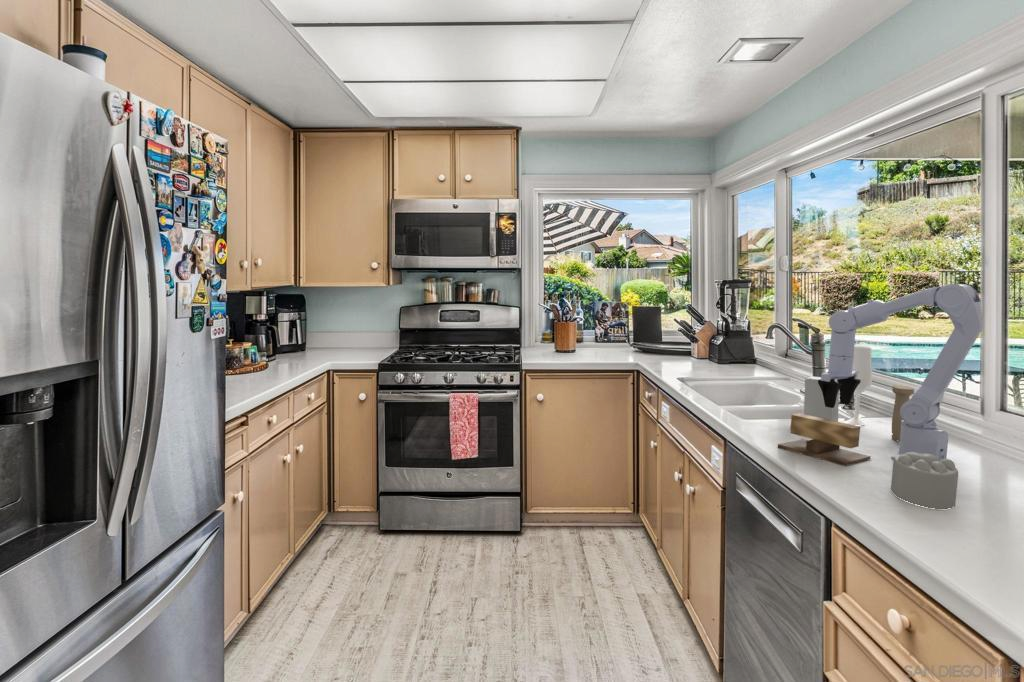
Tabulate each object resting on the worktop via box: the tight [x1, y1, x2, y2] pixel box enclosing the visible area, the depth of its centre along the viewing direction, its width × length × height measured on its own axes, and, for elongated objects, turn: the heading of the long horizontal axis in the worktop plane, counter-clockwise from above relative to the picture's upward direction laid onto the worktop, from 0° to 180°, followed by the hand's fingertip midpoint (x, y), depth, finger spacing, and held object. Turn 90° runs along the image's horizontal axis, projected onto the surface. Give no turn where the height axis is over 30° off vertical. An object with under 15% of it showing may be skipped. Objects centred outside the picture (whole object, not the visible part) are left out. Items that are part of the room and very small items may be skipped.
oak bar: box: [789, 412, 861, 449], centre depth 156 cm, size 16×4×5 cm, turn 33°
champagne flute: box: [843, 345, 873, 425], centre depth 189 cm, size 7×7×24 cm
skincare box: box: [803, 375, 840, 422], centre depth 185 cm, size 8×6×15 cm
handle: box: [891, 384, 915, 441], centre depth 171 cm, size 5×6×15 cm
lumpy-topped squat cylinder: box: [890, 452, 959, 510], centre depth 125 cm, size 10×13×9 cm
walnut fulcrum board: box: [777, 438, 871, 467], centre depth 157 cm, size 18×11×4 cm, turn 33°
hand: (837, 405), depth 165 cm, fingers open, 7 cm apart
